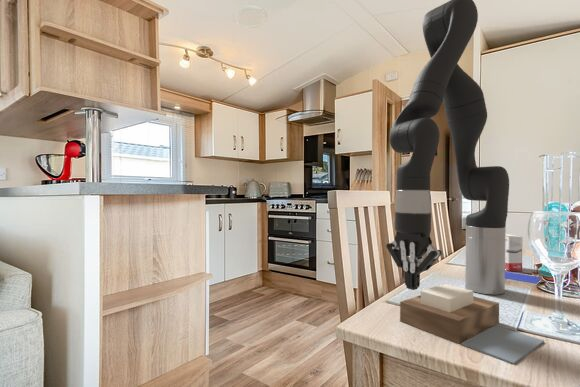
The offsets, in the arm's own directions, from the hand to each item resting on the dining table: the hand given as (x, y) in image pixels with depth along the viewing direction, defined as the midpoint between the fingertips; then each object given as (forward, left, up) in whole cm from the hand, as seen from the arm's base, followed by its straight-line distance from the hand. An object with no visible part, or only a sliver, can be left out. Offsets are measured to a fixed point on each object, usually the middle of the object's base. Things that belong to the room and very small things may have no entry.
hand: (412, 288), depth 73 cm
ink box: (-63, -5, -5) cm, 63 cm away
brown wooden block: (-1, +8, -5) cm, 9 cm away
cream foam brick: (0, +8, -1) cm, 8 cm away
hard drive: (-50, +2, -6) cm, 50 cm away
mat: (+1, +19, -5) cm, 19 cm away
